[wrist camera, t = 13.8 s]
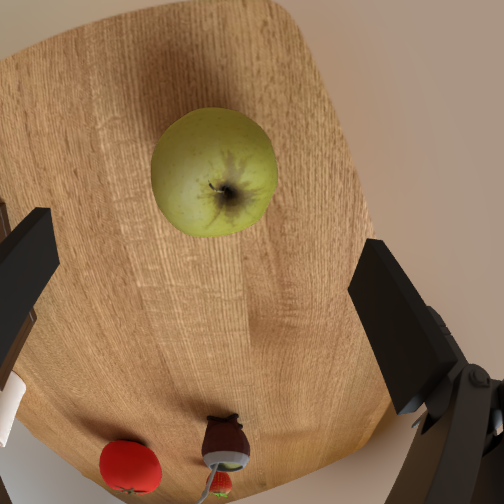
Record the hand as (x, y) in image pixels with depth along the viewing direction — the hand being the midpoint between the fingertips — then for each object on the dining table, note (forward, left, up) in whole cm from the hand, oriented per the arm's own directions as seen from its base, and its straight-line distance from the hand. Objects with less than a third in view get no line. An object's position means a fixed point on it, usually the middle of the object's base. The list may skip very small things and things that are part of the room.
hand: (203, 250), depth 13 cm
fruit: (+64, +5, -13) cm, 65 cm away
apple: (0, 0, -13) cm, 13 cm away
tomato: (+54, -12, -13) cm, 57 cm away
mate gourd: (+40, +4, -13) cm, 42 cm away
